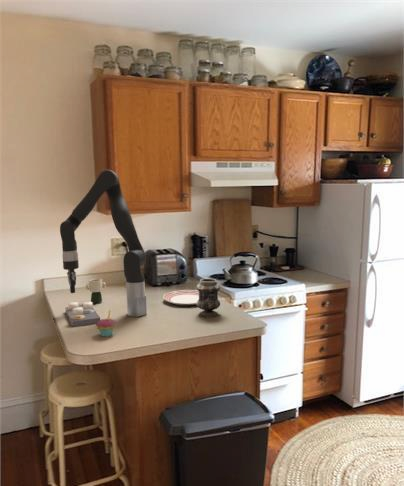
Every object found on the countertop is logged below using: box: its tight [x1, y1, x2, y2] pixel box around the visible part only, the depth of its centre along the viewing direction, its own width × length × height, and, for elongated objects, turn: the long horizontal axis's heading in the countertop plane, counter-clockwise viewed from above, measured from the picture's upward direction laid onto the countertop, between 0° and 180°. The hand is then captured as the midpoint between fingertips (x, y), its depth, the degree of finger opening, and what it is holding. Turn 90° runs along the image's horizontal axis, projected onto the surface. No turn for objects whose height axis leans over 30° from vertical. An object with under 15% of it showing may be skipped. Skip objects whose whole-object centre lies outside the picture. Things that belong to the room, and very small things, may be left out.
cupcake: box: [95, 309, 117, 337], centre depth 186 cm, size 9×8×12 cm
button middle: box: [82, 301, 94, 309], centre depth 213 cm, size 5×5×2 cm
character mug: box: [85, 278, 107, 304], centre depth 239 cm, size 11×7×13 cm, turn 111°
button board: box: [65, 304, 101, 328], centre depth 213 cm, size 26×13×3 cm, turn 25°
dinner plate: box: [162, 289, 199, 306], centre depth 241 cm, size 28×27×3 cm
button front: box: [73, 307, 83, 315], centre depth 204 cm, size 5×5×2 cm
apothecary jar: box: [195, 277, 221, 318], centre depth 214 cm, size 12×12×18 cm
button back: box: [68, 301, 79, 309], centre depth 218 cm, size 5×5×2 cm
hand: (72, 292), depth 217 cm, fingers closed
